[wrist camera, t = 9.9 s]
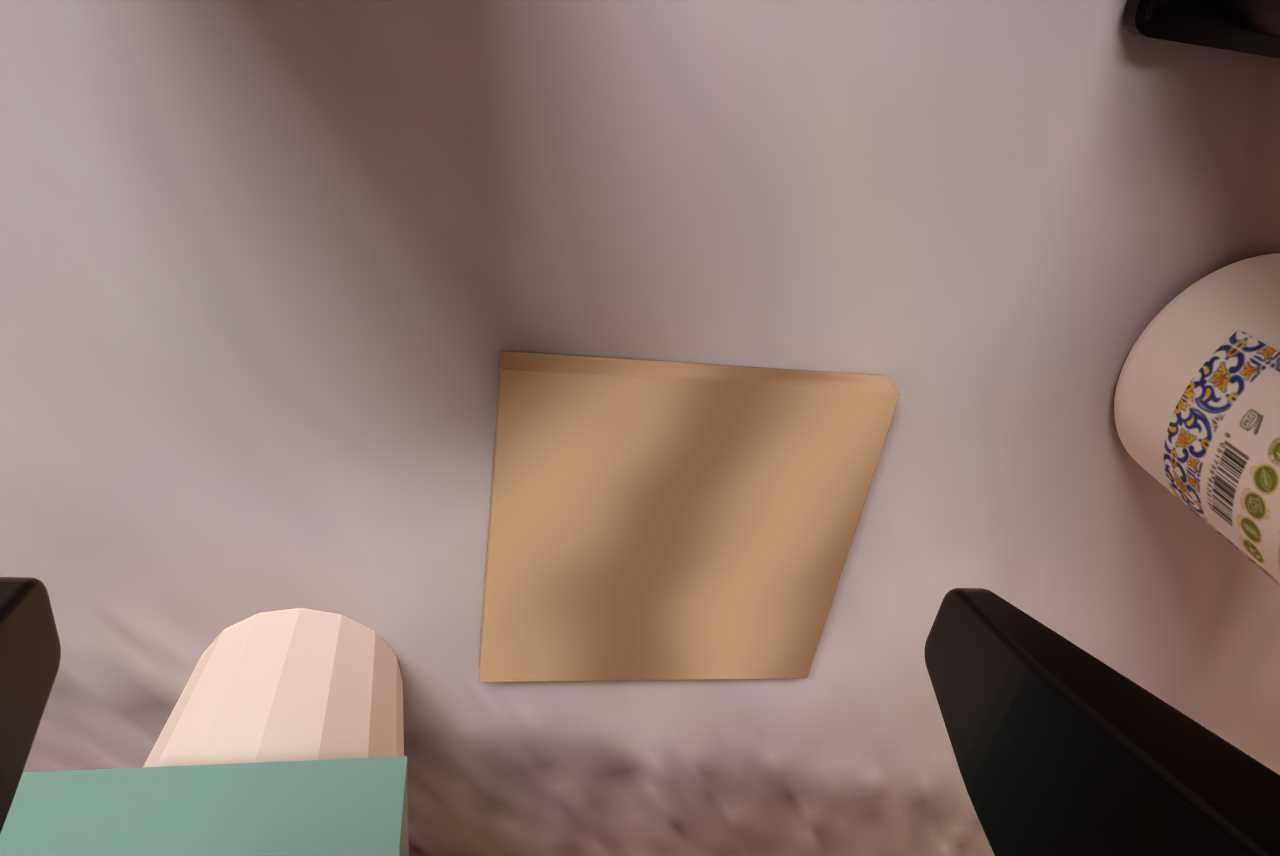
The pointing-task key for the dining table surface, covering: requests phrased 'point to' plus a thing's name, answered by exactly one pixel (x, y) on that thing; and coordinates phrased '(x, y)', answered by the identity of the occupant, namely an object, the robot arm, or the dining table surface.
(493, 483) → the mat
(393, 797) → the lid
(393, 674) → the cream round container
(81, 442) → the dining table surface
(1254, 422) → the bath foam
